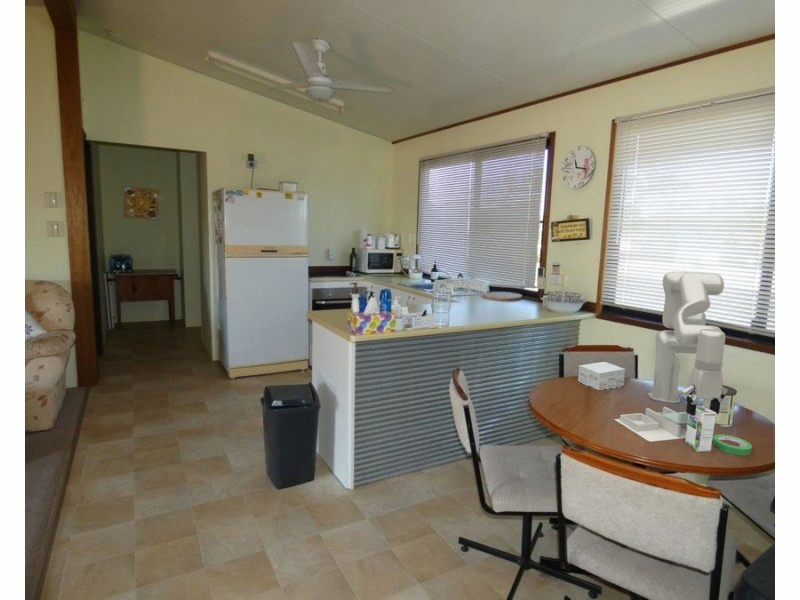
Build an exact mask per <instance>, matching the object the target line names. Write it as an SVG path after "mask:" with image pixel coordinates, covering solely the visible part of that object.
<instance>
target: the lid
mask: <svg viewBox="0 0 800 600" xmlns="http://www.w3.org/2000/svg"><path fill="white" fill-rule="evenodd" d="M675 412H676V411H675ZM662 416H663V417H665V418H667V419H669V420H671V421H673V422H675V423H677V424H680V423H688V417H689V414H688V413H687V412H686V411H678V412H676V413H664V414H662Z"/></svg>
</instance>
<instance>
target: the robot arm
mask: <svg viewBox="0 0 800 600" xmlns="http://www.w3.org/2000/svg"><path fill="white" fill-rule="evenodd" d="M724 288H725V282H724V279H723V277H722V276H721V275H720V274H719V273H715V272H714V273H713V272H698V271H697V272H696V271H695V272H694V271H692V272H691V271H669V272H666V273H665V274H664V275H663V279H662V289H663V291H664V297H665V298H664V304H663V312H662V324H663V325H662V326H664V327H665V328H668V329H667V330H665V329H664V330H660V331H659V332H657V333H656V335H655V363H654V364H655V365H654V373H653V382H652V391H650V392H648V393H647V397H648V398H649V399H651V400H653V401H656V402H666V403H667V402H668V403H672V404H679V403H680V402H681V397H679V396H681V395H683V399H684V400H685V403H686V411H685V412H687V413H688V414H690V415H692V416H695V414H696V406H697V404H696V403H697V402H698V401H699V400H704V399H710V398H712V399H713V400H711V403H710V410H712V411H714V412H716V414H719V410H720V403H721V402H722V399H723V398H724V397H725V394H726V393H727V391H728V390H727V389H726V388H724V387H722V385H723V383H724V382H723V381H724V380H723V371H722V367H723V364H724V363H723V359H724V352H725V346H726V345H725V342H726V334H725V332H723V331H722V329H721V328H720V327H719V326H715V325H707V324H706V323H707V317H706V313H705V312H706V311H707V310H709V309H710V307H711V301H710V297H709V296H719V295H721V294H722V293H723V291H724ZM669 329H670V330H669ZM671 329H673V330H671ZM679 353H681V354H691V355H692V354H695V359H694V360H695V362H694V367H693V368H692V369H691V372H690V373H689V374H690V375H689V378H688V381H687V382H688V383H687V388H685V389H683V390H682V389H681V390H680V389H678V387H679V378H680V371H681V370H680V369H681V361H680V359H679V358H678V356H677V355H676V354H679Z"/></svg>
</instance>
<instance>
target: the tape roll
mask: <svg viewBox="0 0 800 600" xmlns="http://www.w3.org/2000/svg"><path fill="white" fill-rule="evenodd" d="M723 441H732V442H734V443H737V444H735V445H731V444H728V443H725V442H723ZM712 444H714V445H715V448H716V449H718V450H720V451H722V452H724V453H727V454H730V455H737V456H750V455H751V454H752V449H753V448H752V447H753V445H752V444H751V443H750V442H749V441H747V440H745V439H743V438H740V437H737V436H734V435H730V434H724V433H723V434H722V433H721V434H720V433H718V434H713V438H712Z"/></svg>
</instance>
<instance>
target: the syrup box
mask: <svg viewBox="0 0 800 600" xmlns="http://www.w3.org/2000/svg"><path fill="white" fill-rule="evenodd" d="M715 417H716V412H714V411H712V410H710V409H708V408H706V407H704V406H703V405H696V414H695V416H692V415H690V414H689V417H688V425H687V432H686V438H685V443H686V444H687V445H689V446H690V447H692V450H693V451H695V452H696V453H697V452H701V453H702V452H711V451H712V444H713V441H712V440H713V436H714V430H715Z"/></svg>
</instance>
